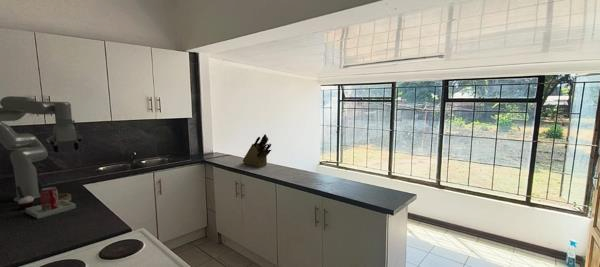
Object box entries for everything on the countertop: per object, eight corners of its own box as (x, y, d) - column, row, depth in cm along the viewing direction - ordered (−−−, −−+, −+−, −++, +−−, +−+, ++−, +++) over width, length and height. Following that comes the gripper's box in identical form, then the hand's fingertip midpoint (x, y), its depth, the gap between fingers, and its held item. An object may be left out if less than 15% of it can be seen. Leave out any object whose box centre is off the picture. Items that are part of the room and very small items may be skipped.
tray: (26, 212, 143) (25, 208, 143) (63, 203, 157) (63, 199, 157) (37, 218, 136) (37, 214, 135) (76, 208, 150) (75, 204, 149)
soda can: (58, 206, 151) (56, 185, 150) (60, 209, 147) (58, 188, 146) (40, 210, 146) (38, 188, 145) (42, 213, 141) (40, 191, 140)
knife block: (263, 169, 242) (262, 135, 239) (242, 163, 267) (241, 132, 264) (272, 167, 250) (272, 134, 246) (251, 161, 275) (251, 132, 272)
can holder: (39, 203, 158) (38, 198, 158) (65, 197, 169) (65, 192, 168) (48, 207, 152) (47, 201, 152) (74, 200, 163) (74, 195, 162)
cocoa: (35, 208, 151) (35, 187, 150) (20, 211, 146) (19, 190, 145) (31, 204, 156) (30, 184, 155) (15, 207, 151) (15, 186, 150)
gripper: (78, 121, 169) (80, 148, 171) (42, 123, 154) (45, 152, 156) (84, 122, 165) (86, 149, 167) (47, 123, 150) (50, 153, 152)
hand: (66, 150), depth 161 cm, fingers open, 9 cm apart
